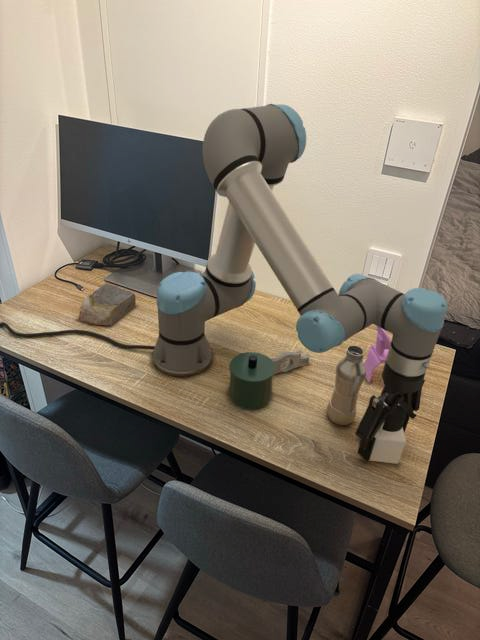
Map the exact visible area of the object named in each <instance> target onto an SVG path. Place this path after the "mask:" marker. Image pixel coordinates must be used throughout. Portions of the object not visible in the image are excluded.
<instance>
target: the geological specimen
mask: <svg viewBox="0 0 480 640" xmlns="http://www.w3.org/2000/svg"><path fill="white" fill-rule="evenodd" d="M136 300H137V299H136V294H135V292H132V291H130V290H126V289H124V288H122V287H119V286H116V285H112V284H110V283H108V282H106V283H104V284H103V285H101V286H100V287H98V288H97V289H95V290H94V291H93V292H92V293H90V294H89V295H86V296H85V298H84V299H83V301H82V302H81V305H80V307H79V313H78V319H79V320H80V321H81V322H83V323H88V324H90V325H92V324H94V325H97V326H107V327H108V326H110V327H111V326H113V325H114V324H116V323H117V322H118V321H119V320H121V319H122V318H124V317H125V316H126V315H127V314H128V313H129V312H131V311H132V310H133V309H135V307H136V303H137V301H136Z"/></svg>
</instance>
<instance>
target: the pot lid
mask: <svg viewBox="0 0 480 640" xmlns="http://www.w3.org/2000/svg"><path fill="white" fill-rule="evenodd" d="M270 358H271V357H269V356H267V354H263V353H260V352H255V351H245V352H241V353H238V354H236V355H234V356H233V357H232V358H231V360H230V361H229V366H228V367H229V368H228V369H229V371H230V372H231V373H232V375H233V376H234V377H236V378H237V379H239V380H241V381H244V382H249V383H259V382H264V381H266V380H268V379H270V378H271V377H272V376H273V377H274V375H275V374H274V373H275V364H274V362H273V361H272V360H271V359H270ZM230 372H229V373H230Z"/></svg>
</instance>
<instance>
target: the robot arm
mask: <svg viewBox="0 0 480 640" xmlns="http://www.w3.org/2000/svg"><path fill="white" fill-rule="evenodd" d="M306 147H307V131H306V127H304V122H303V119H302V118H301V116H300V114H299V113H298V112H297V110H295V109H294V108H293V107H291V106H289V105H287V104H281V103H279V104H275V103H269V104H266V105H261V106H253V107H252V106H251V107H243V108H232V109H228V110H225V111H223V112H222V113H219V114H218V115H217V116H216V117H215V118H214V119H213V120H212V121H211V122H210V124H209V125H208V127H207V129H206V131H205V134H204V137H203V141H202V159H203V165H204V168H205V172H206V174H207V177H208V179H209V181H210V183H211V185H212V186H213V188H214V190H215V192H216V193H217V194H218V195H219V196H220V197H223V198H227V201H228V204H227V206H226V207H227V208H226V212H225V216H224V220H223V223H222V226H221V231H220V235H219V239H218V243H217V247H216V251H215V253H214V254H212V255H210V256H209V257H208V259H207V262H206V266H205V270H204V271H203V272H201V273H198V272H195V271H189V270H188V271H187V270H186V271H185V272H183V271H177V272H173V273H171V274H169V275H167V276H165V277H164V278H163V279H162V280H161V281H160V282H159V284H158V286H157V291H156V300H155V301H156V302H155V303H156V307H157V321H158V336H157V339H156V342H155V345H143V344H124V343H120V342H118V341H116V340H114V339H112V338H111V337H109V336H106V335H103V334H100V333H98V332H97V333H96V332H94V331H90V330H85V329H84V330H83V329H67V330H66V329H65V330H57V331H44V332H43V331H42V332H35V333H21V332H17V331H15V330H13V329H12V327H11V326H9V324H8V323H6V322H4V321H3V322H0V327H4V328H5V329H6V330H7V331H8V332H9V334H12V335H13V336H16V337H19V338H36V337H46V336H47V337H49V336H59V335H66V334H81V335H88V336H91V337H96V338H99V339H101V340H104V341H107V342H108V343H110V344H113V345H115V346H117V347H119V348H122V349H127V350H128V349H129V350H135V349H136V350H151V351H152V350H153V353H152V361H153V365H154V366H155V368H156V369H157V370H158V371H160V372H161V373H163V374H165V375H168V376H171V377H177V378H178V377H180V378H181V377H182V378H183V377H191V376H195V375H198V374H200V373H202V372H204V371H205V370H206V369H207V368H208V367H209V366H210V364H211V362H212V349H211V345H210V344H209V341H208V338H207V336H206V332H205V331H206V330H205V329H206V322H207V321H209V320H211V319H214V318H216V317H218V316H220V315H223V314H225V313H228V312H230V311H232V310H234V309H237V308H238V309H239V308H240V307H241V306H243V305H244V304H246V303H248V302H249V301H250V300H251V299H252V298H253V296H254V294H255V291H256V288H257V287H256V286H257V285H256V283H257V282H256V280H254V279H255V278H256V276H255V274H254V271H253V269H252V266H251V263H250V260H251V258H252V254H253V251H254V249H255V245H256V246H257V248H258V250H259V251H260V253H261V255H262V256H263V258H264V259H265V260H266V262H267V264H268V265H269V267H270V269H271V271H272V272H273V274H274V275H275V277H276V279H277V280H278V282H279V283H280V285H281V287H282V288H283V290H284V291H285V293H286V294H287V296H288V298H289V299H290V301H291V303H292V304H293V305H294V307H295V309H296V311H297V312H298V314H299V318H297V321H296V325H295V331H296V332H297V339H298V340H299V342H300V343H301V344H302V346H303V347H304V348H305V349H307V350H308V351H310V352H312V353H316V354H321V353H325V352H328V351H330V350H332V349H334V348H335V347H336V348H337V347H339V346H341V345H342V344H343V343H344V342H346V340H349V339H350V338H352V337H354V336H355V335H357V334H358V333H360V332H362V331H364V330H365V329H367V328H368V327H370V326H371V325H374V326H376V327H377V326H378V327H380V328H382V329H384V330H385V331H386V332H389V333H391V334H392V337H391V344H390V348H389V351H388V354H387V357H386V362H385V363H384V365H383V368H382V372H381V379H382V382H383V386H384V387H383V388H382V390H381V392H380V395H378V396H376V395H375V394H373V395H371V396H370V397H369V402H368V405H367V408H366V410H365V411H364V413H363V416H362V418H361V420H360V422H359V425H358V426H357V428H356V430H355V436H357V437H358V438H359V439H360V442H359V446H358V449H357V454H358V455H359V456H360V457H361V458H362V459H364V461H366V462H369V460H370V456H371V453H372V450H373V447H374V443H375V440H376V438H375V437H374V436H375V435H376V433H377V432H378V430H379V429H380V427H381V425H382V424H383V422H384V421H385V419H386V418H387V416H388V415H389V413H393V411H394V410H395V408H396V407H397V405H399V406H400V407H402V408H403V410H404V411H405V413H406V418H405V421H404V424H403V431H404V433H405V432H406V429H407V426H408V424H409V421H410V419H412V420H414V419H415V418H416V417H417V414H416V413H414V412H418V411H419V409H420V406H421V399H422V393H423V387H424V384H425V382H426V379H425V376H426V372H427V371H428V369H429V368H430V367H431V365H430V362H431V358H432V356H433V353H434V350H435V347H436V345H437V342H438V340H439V337H440V334H441V331H442V329H443V328H444V325H445V319H446V316H447V312H448V302H447V300H446V298H445V297H444V296H443V295H442V294H440V293H438V292H437V291H435V290H432V289H426V288H423V287H415V288H411V289H408V290H407V291H406V292H405V293H403V292H401V291H400V290H397V289H395V288H393V287H391V286H389V285H387V284H384V283H383V282H381V281H379V280H377V279H375V278H373V277H369V276H366V275H364V274H362V273H354V274H352V275H349V276H348V277H347V279H346V280H344V282H343V283H342V285H341V286H340V288H339V291H338V292H337V290H336V289H335V288H334V287H333V285H332V284H331V282H330V281H329V279H328V277H327V275H326V274H325V272H324V270H323V269H322V268H321V266H320V265H319V263H318V262H317V260H316V258H315V256H314V255H313V253H312V252H311V249H309V247H308V246H307V244H306V242H305V241H304V239H303V237H302V236H301V234H300V233H299V231H298V230H297V228H296V226H295V225H294V224H293V222H292V220H291V218H290V217H289V215H288V214H287V213H286V211H285V209H284V207H283V206H282V205H281V203H280V201H279V199H278V198H277V197H276V195H275V193H274V192H273V190H274V186H277V185H279V184H281V183H282V182H283V181H284V179H285V175H286V172H287V170H288V168H289V167H288V166H289V164H292V163H295V162H296V161H298V160H300V158H301V157H302V156H303V154H304V153H305V150H306ZM383 402H385V403H386V404H387V405H389V406H390V408H389V407H387V406H386V405H385V404H384V403H383Z"/></svg>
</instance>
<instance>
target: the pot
mask: <svg viewBox="0 0 480 640" xmlns="http://www.w3.org/2000/svg"><path fill="white" fill-rule="evenodd" d="M229 373H230V374H229V399H230V400H231V401H232V403H233V404H235V406H238V407H239V408H242V409H246V410H256V409H261V408H263V407H265V406H266V405H267V404H268V403H269V402H270V400H271V397H272V390H273V381H274V375H273V376H272V377H271V378H270V379H268V380H266V381H264V382H259V383H249V382H244V381H241V380H239V379H237V378H236V377H234V376H233V375H232V373H231V372H229Z"/></svg>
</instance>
